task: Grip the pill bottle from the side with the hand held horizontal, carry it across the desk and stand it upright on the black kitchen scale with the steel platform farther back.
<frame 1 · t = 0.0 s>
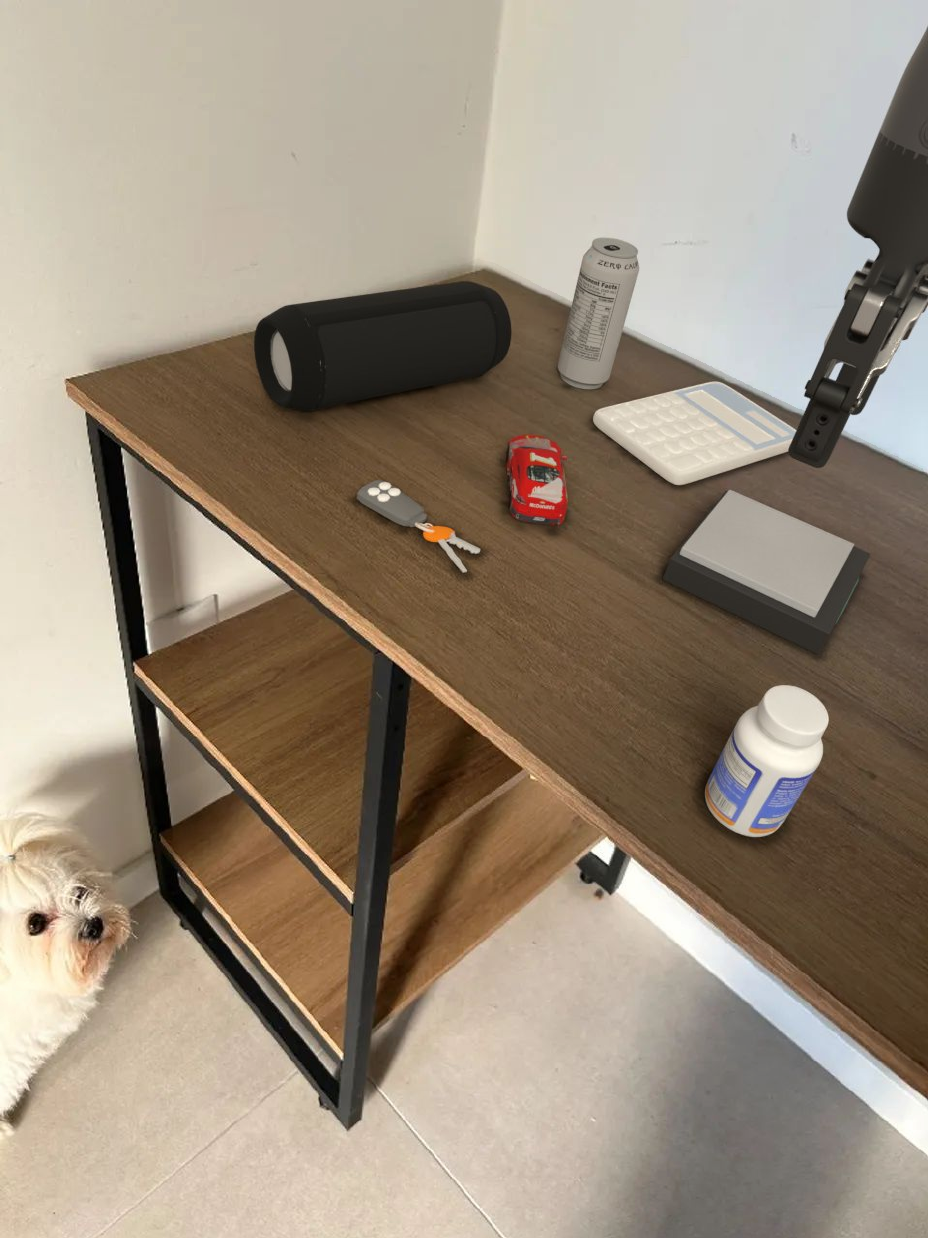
hand: (825, 433, 56), 22 cm above the table, tool pointing down, fingers open, 8 cm apart
pill bottle: (740, 807, 62), on the table
scale: (763, 576, 82), on the table
portable speaker: (383, 390, 97), on the table
race car: (533, 491, 87), on the table
calculator: (695, 437, 100), on the table
key chain: (420, 531, 80), on the table
energy drink can: (581, 380, 106), on the table
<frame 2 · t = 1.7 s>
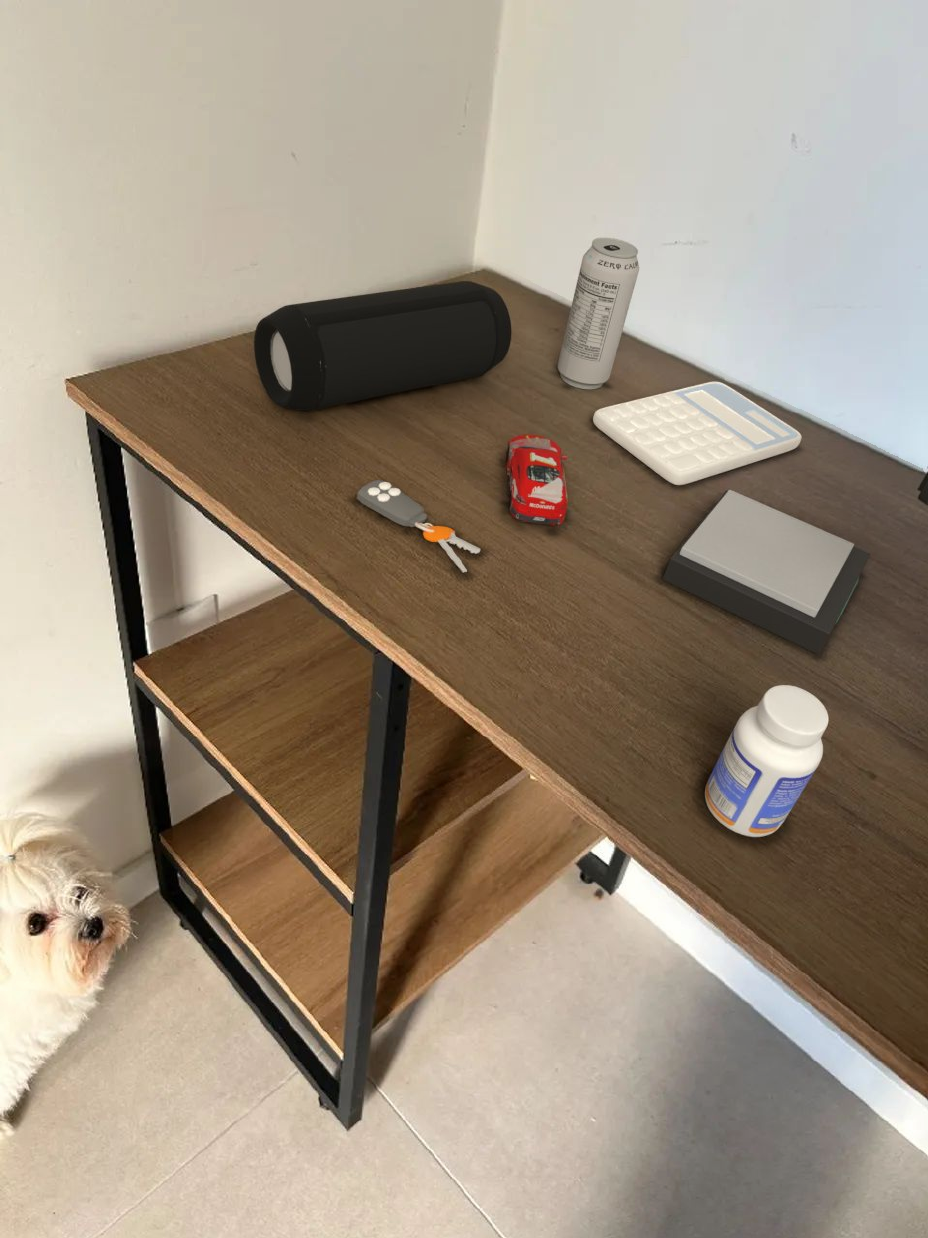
nothing on the table moved.
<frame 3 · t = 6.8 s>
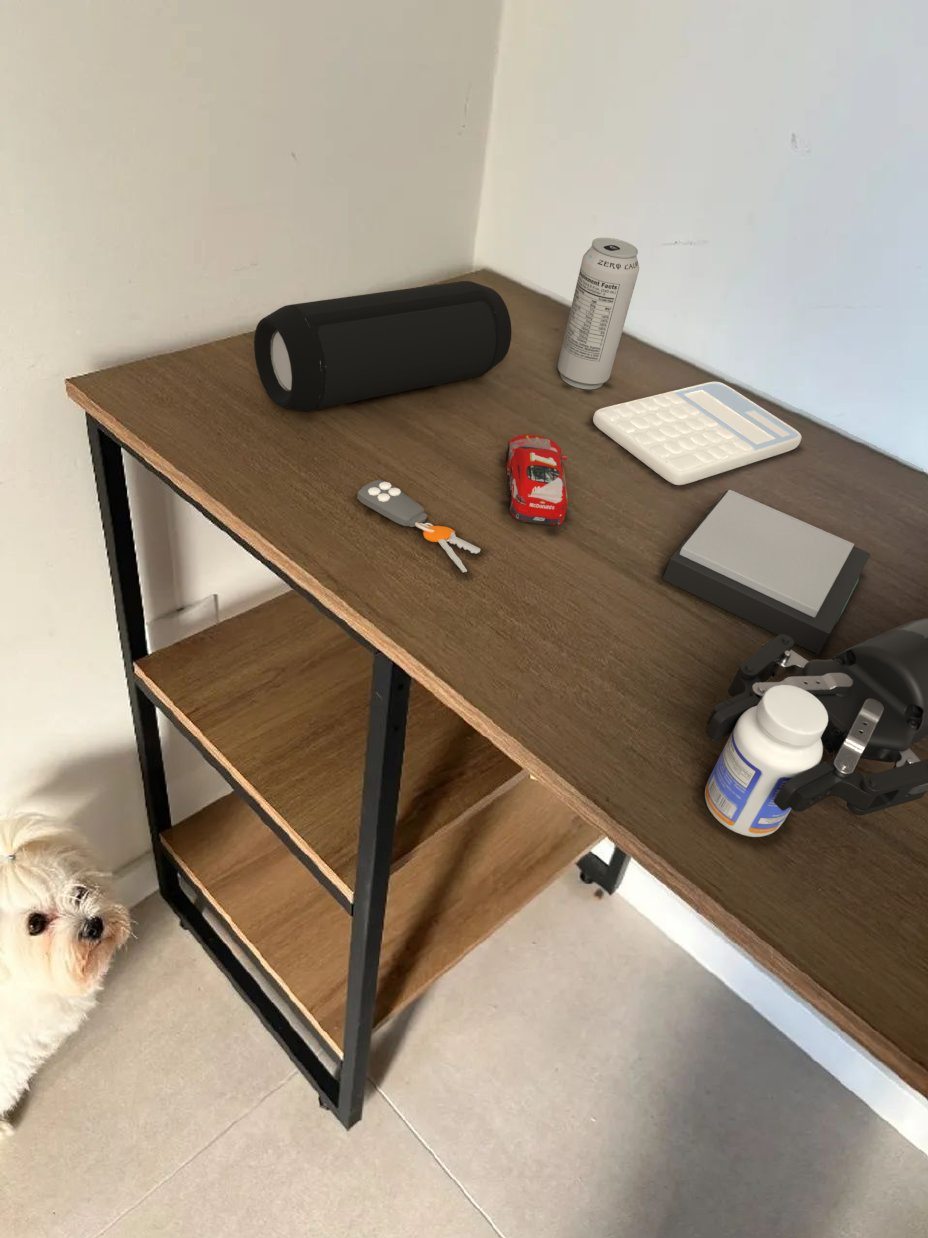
hand: (747, 761, 57), 6 cm above the table, tool horizontal, fingers closed on pill bottle, 5 cm apart
pill bottle: (740, 807, 62), on the table, touching gripper
everything else where it was.
when the fingers open (9 cm above the table, at t = 15.6 s): pill bottle stays where it is, resting on scale.
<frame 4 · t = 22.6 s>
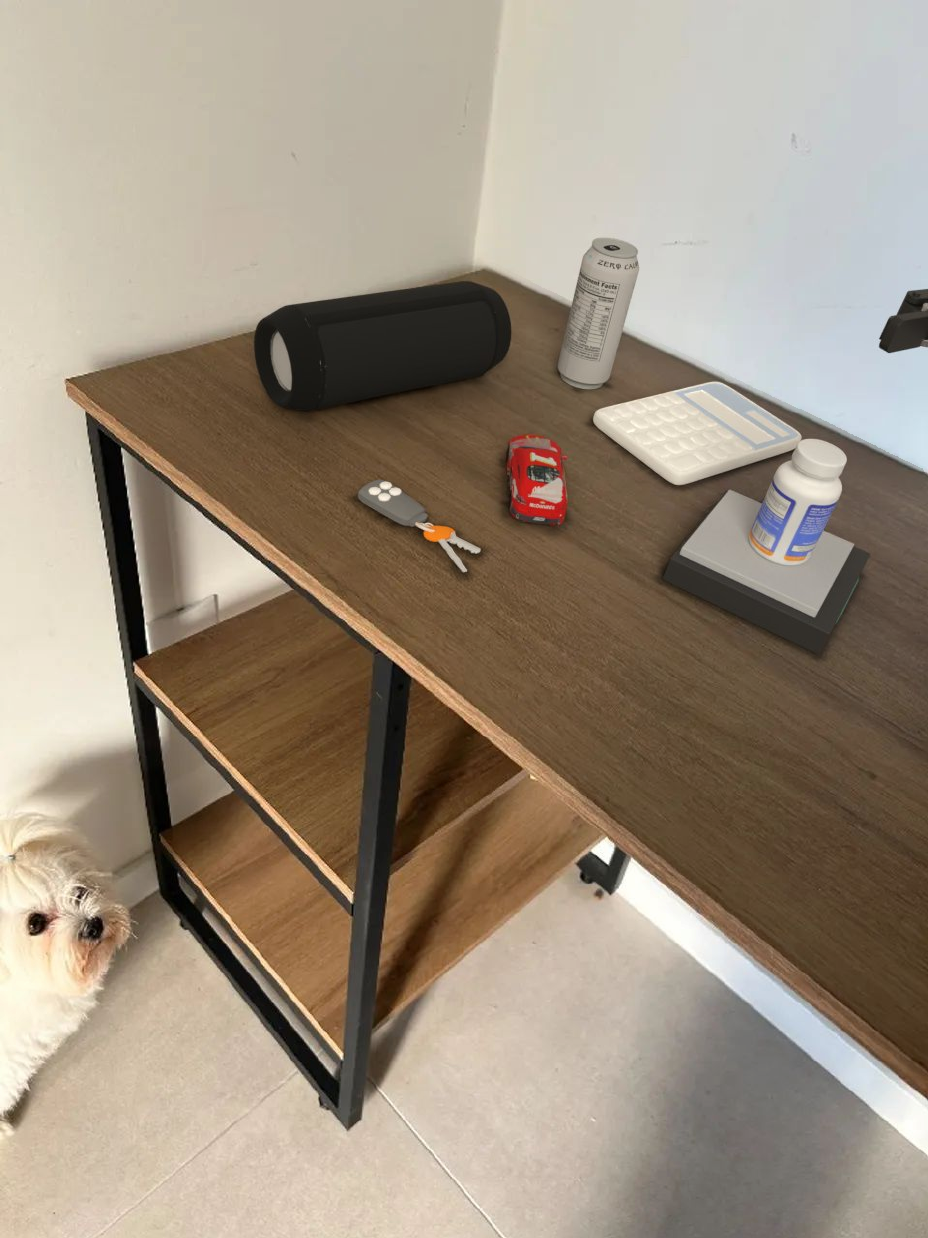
pill bottle: (776, 549, 80), point 3 cm above the table, touching scale
everything else where it was.
at the end: pill bottle inside the target area on the scale (0.3 cm from its centre), point 3.0 cm above the scale's base; pill bottle tilted 0°; the gripper is holding nothing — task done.
